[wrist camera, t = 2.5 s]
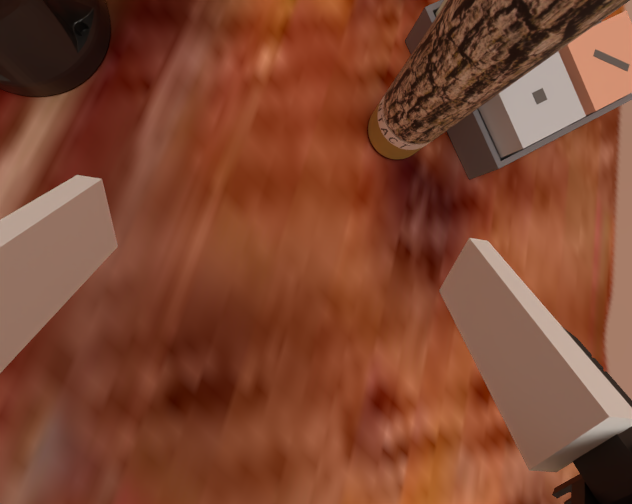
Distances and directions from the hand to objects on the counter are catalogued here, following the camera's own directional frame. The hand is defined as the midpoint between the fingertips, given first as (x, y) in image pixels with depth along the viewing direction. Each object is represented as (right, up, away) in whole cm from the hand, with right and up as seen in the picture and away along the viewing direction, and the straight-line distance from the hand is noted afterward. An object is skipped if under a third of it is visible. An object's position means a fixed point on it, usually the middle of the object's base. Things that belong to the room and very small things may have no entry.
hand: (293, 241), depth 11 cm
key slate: (+22, +15, +21) cm, 34 cm away
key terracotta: (+30, +19, +21) cm, 41 cm away
